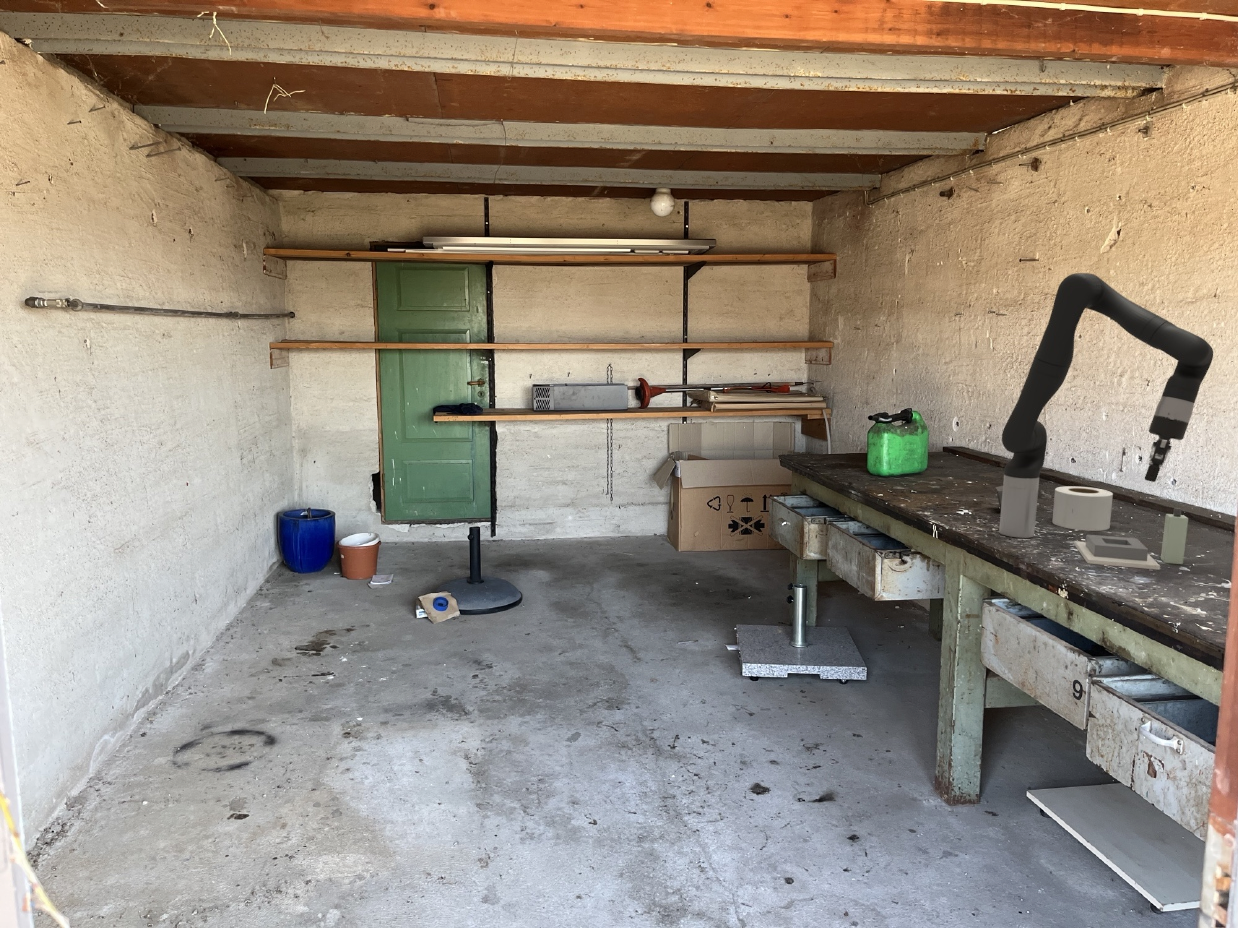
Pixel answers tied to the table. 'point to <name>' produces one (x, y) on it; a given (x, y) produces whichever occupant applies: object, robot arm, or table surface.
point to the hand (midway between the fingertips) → (1149, 480)
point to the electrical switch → (999, 494)
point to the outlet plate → (1114, 560)
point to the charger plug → (1174, 537)
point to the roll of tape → (1082, 508)
